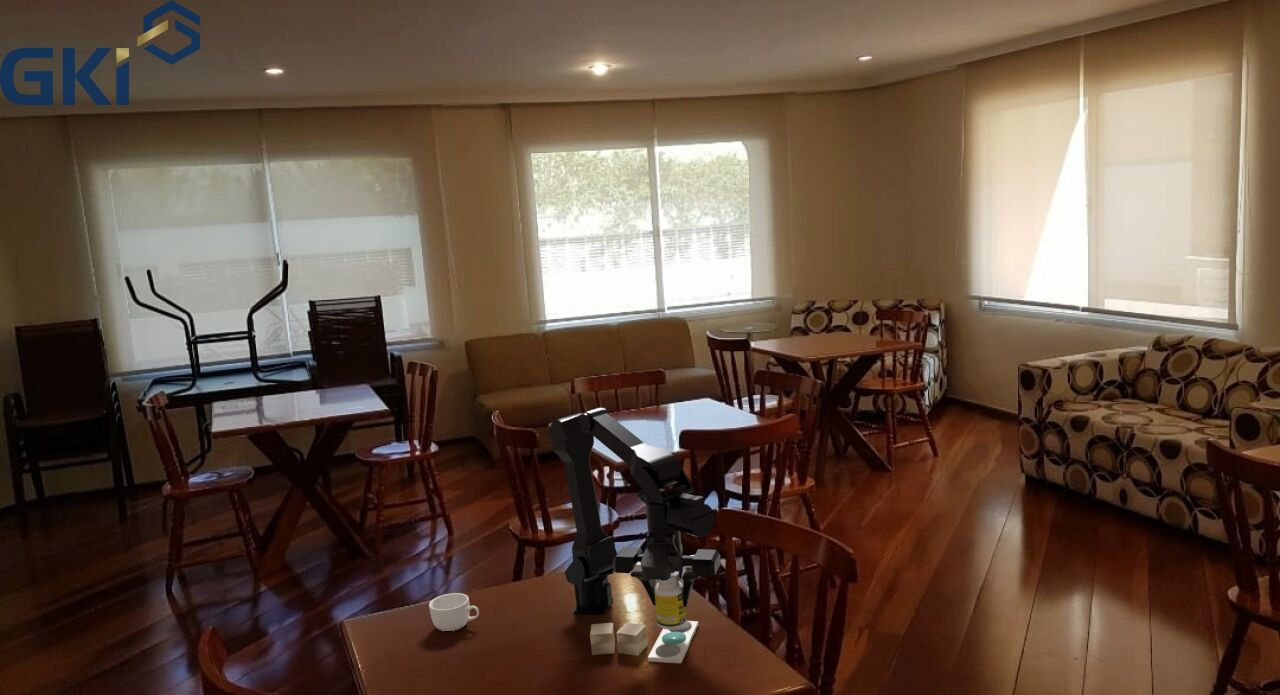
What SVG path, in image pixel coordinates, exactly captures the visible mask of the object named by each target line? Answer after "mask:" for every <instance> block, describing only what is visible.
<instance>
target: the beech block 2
mask: <svg viewBox="0 0 1280 695" xmlns="http://www.w3.org/2000/svg"><path fill="white" fill-rule="evenodd" d="M615 633H616V642H617V643H616V644H617V652H618V653H619V654H623V655H624V654H625V655H629V656H630V655H631V656H637V657H639V656H640V655H641V653H642V652H643V651H645V649H646V648H647V647H648V645H649V644H648V634H647V633H648V632H647V625H645V624H639V623H633V622H626V623H625V624H623V625H622V626H621V627H620V628H619V629H617V632H615Z"/></svg>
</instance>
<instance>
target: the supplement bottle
mask: <svg viewBox="0 0 1280 695" xmlns="http://www.w3.org/2000/svg"><path fill="white" fill-rule="evenodd" d="M654 590H655V604H656V606H655V612H656V613H655V616H656V624H657V626H658V627H659V628H661V629H662V630H663V629H668V630H672V629H678V628H681V627H683V626H684V625H685V624H686V621H687V610H686V608H687V607H684V603H683V582H681V581H680V572H674V573H671V577H670V578H669V579H668V580H665V581H662V580H657V582H656V586H655V589H654Z"/></svg>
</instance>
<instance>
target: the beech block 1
mask: <svg viewBox="0 0 1280 695" xmlns="http://www.w3.org/2000/svg"><path fill="white" fill-rule="evenodd" d="M589 633H590V634H589V638H590V649H591V655H592V656H594V655H608V654H614V653H615V649H616V648H615V646H616V639H615V637H616V636H615V628H614V622H607V623H606V622H603V623H594V624H593V623H592V624H591V626H590V632H589Z"/></svg>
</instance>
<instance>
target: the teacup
mask: <svg viewBox="0 0 1280 695" xmlns="http://www.w3.org/2000/svg"><path fill="white" fill-rule="evenodd" d="M469 598H470V597H469V596H468V595H467V594H464V593H460V592H459V593H458V592H453V593H452V592H451V593H446V594H442V595H439V596H436V597H435V598H433V599H431V600H430V601H429V603H428V607H429V611H430V612H429V613H430V616H431V617H430V618H431V621H432V623H433V625H434V626H435V628H436V629H437V630H439V631H440V632H441V631H442V632H444V631H453V632H456V631H455V630H457V631H459V630H461V629H462V628H463V627H464V626H465V625H467V623H468V622H469V621H473V620H475V619H476V618H477V617H478V616H479V615H480V610H479V608H478V607H477V606H475V605H470V599H469ZM472 609H474V610H475V612H476V615H475V616H470V615H471V614H470V613H471V612H470V611H471V610H472ZM460 628H461V629H460ZM458 629H459V630H458Z"/></svg>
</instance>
